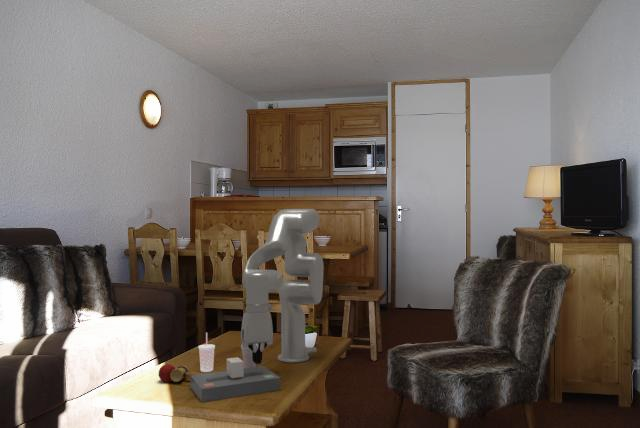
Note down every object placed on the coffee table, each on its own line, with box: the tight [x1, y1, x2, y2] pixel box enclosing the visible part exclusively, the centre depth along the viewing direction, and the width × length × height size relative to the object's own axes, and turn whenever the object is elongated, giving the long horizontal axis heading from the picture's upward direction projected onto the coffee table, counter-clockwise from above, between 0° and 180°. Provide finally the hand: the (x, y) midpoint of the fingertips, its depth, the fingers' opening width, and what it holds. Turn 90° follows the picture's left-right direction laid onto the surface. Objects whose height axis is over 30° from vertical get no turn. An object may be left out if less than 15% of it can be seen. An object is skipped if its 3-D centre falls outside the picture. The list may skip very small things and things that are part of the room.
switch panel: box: [189, 365, 281, 403], centre depth 182 cm, size 26×19×4 cm
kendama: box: [158, 363, 207, 383], centre depth 189 cm, size 8×6×18 cm
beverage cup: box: [198, 332, 216, 373], centre depth 203 cm, size 6×6×14 cm
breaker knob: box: [225, 356, 244, 378], centre depth 181 cm, size 4×6×5 cm, turn 26°
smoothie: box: [240, 343, 258, 369], centre depth 202 cm, size 6×6×14 cm
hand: (257, 363), depth 184 cm, fingers closed
